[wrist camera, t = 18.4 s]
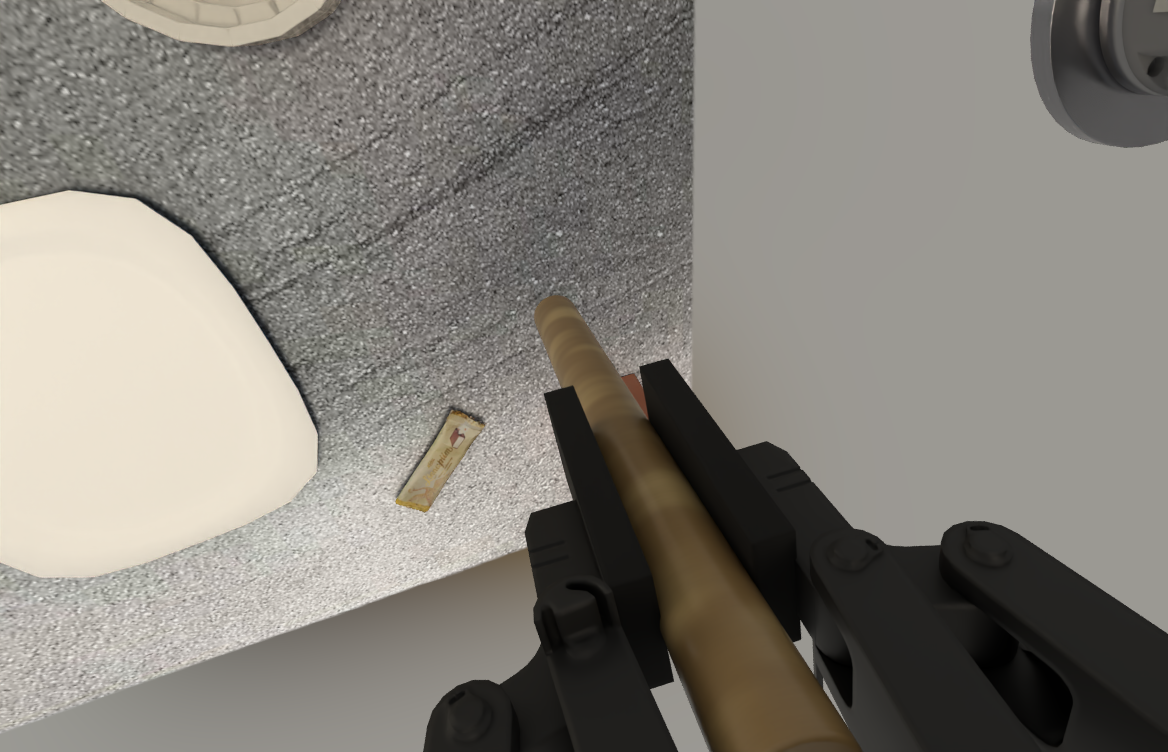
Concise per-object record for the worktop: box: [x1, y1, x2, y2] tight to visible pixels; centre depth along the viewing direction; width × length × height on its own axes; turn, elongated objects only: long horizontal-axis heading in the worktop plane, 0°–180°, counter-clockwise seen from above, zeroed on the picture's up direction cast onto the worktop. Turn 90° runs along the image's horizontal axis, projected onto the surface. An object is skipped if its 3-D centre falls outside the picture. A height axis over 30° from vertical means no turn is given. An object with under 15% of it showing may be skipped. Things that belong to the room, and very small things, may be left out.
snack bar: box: [395, 410, 487, 513], centre depth 51 cm, size 10×2×3 cm
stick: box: [534, 295, 863, 752], centre depth 18 cm, size 2×2×21 cm
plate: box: [0, 190, 318, 578], centre depth 43 cm, size 25×25×2 cm
